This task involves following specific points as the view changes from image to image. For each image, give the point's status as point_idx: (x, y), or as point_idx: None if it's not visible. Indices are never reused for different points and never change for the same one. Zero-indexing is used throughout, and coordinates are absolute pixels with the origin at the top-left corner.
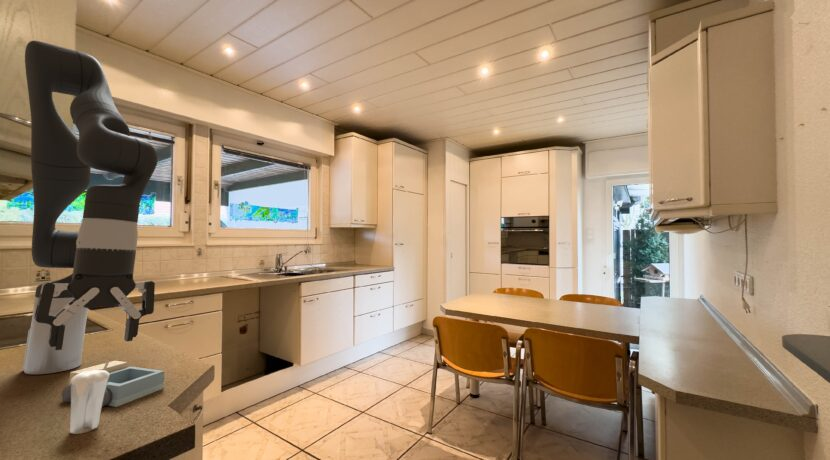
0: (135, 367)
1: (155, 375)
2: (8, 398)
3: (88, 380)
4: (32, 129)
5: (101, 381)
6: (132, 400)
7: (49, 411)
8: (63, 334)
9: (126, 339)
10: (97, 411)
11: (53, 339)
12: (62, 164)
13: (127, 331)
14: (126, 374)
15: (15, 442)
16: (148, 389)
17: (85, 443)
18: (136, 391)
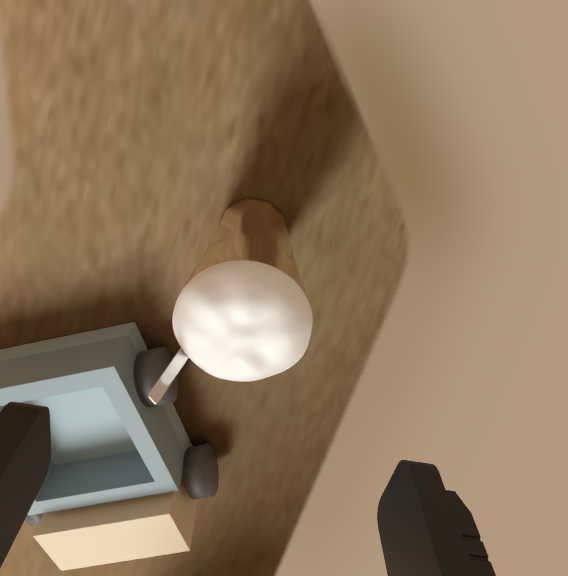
0: None
1: None
2: (282, 551)
3: (274, 276)
4: None
5: (222, 261)
6: (84, 332)
7: (259, 423)
8: (437, 556)
9: (44, 431)
10: (229, 222)
11: (464, 539)
12: None
13: (11, 489)
14: (53, 483)
15: (378, 294)
16: (24, 353)
17: (291, 114)
18: (63, 351)
